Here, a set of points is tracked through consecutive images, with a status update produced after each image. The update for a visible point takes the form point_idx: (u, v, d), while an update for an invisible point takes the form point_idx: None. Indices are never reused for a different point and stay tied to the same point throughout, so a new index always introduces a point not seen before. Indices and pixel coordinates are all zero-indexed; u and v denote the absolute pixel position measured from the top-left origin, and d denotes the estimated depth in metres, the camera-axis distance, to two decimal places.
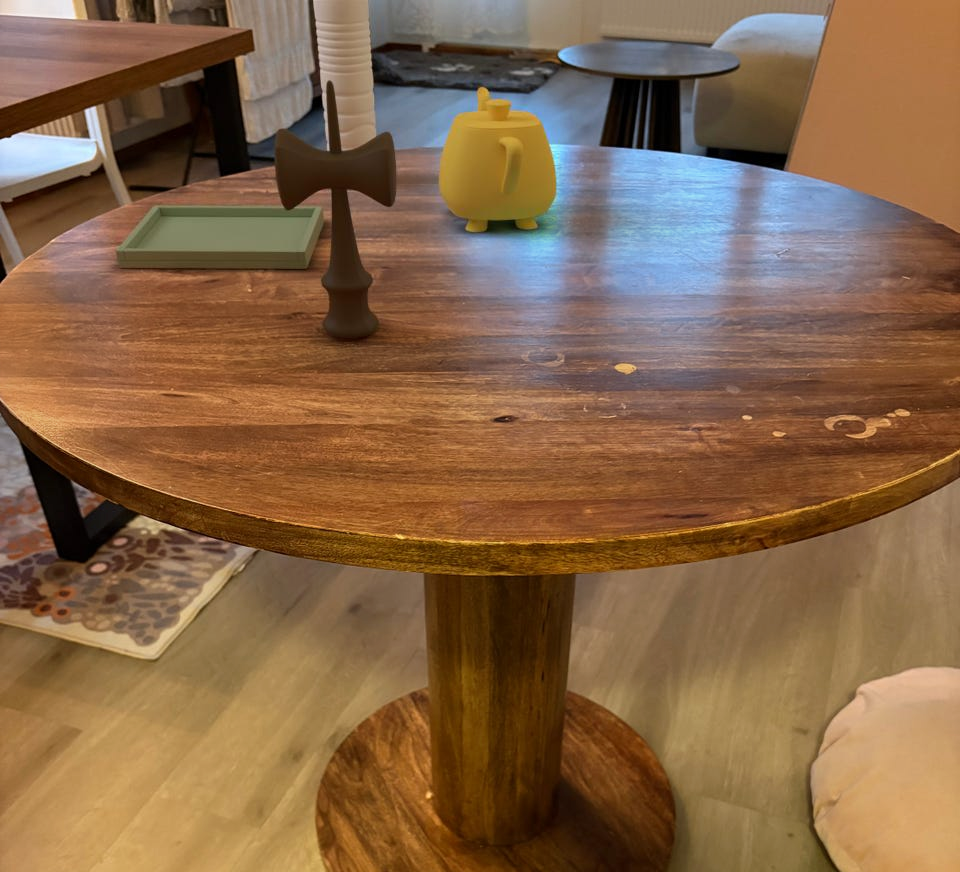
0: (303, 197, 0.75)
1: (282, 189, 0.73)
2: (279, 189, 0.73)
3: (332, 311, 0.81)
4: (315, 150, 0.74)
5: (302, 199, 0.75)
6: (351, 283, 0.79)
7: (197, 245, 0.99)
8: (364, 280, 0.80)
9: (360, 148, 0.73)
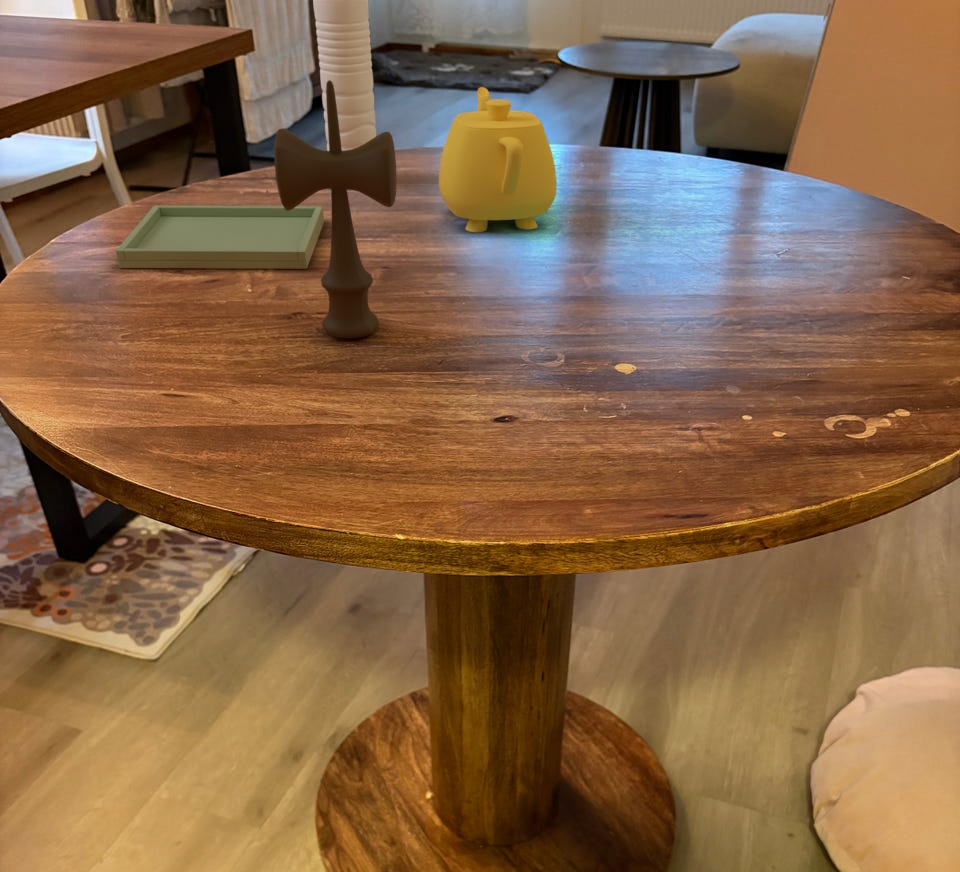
0: (303, 197, 0.75)
1: (282, 189, 0.73)
2: (279, 189, 0.73)
3: (332, 311, 0.81)
4: (315, 150, 0.74)
5: (302, 199, 0.75)
6: (351, 283, 0.79)
7: (197, 245, 0.99)
8: (364, 280, 0.80)
9: (360, 148, 0.73)
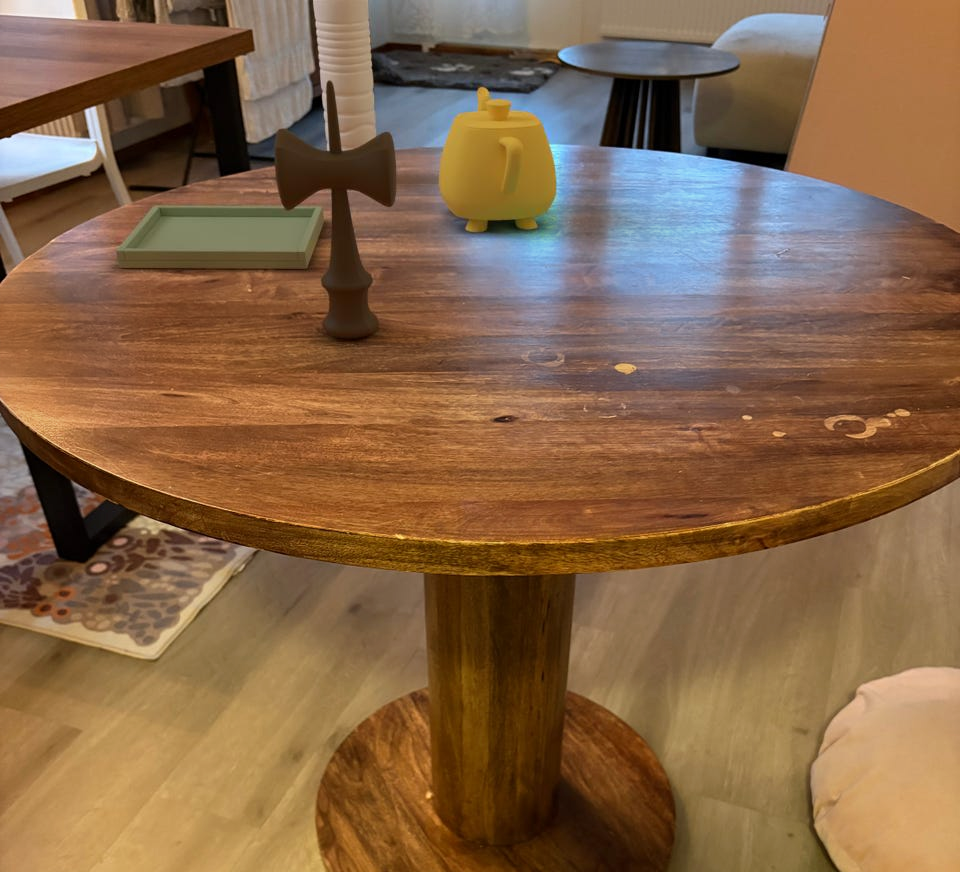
0: (303, 197, 0.75)
1: (282, 189, 0.73)
2: (279, 189, 0.73)
3: (332, 311, 0.81)
4: (315, 150, 0.74)
5: (302, 199, 0.75)
6: (351, 283, 0.79)
7: (197, 245, 0.99)
8: (364, 280, 0.80)
9: (360, 148, 0.73)
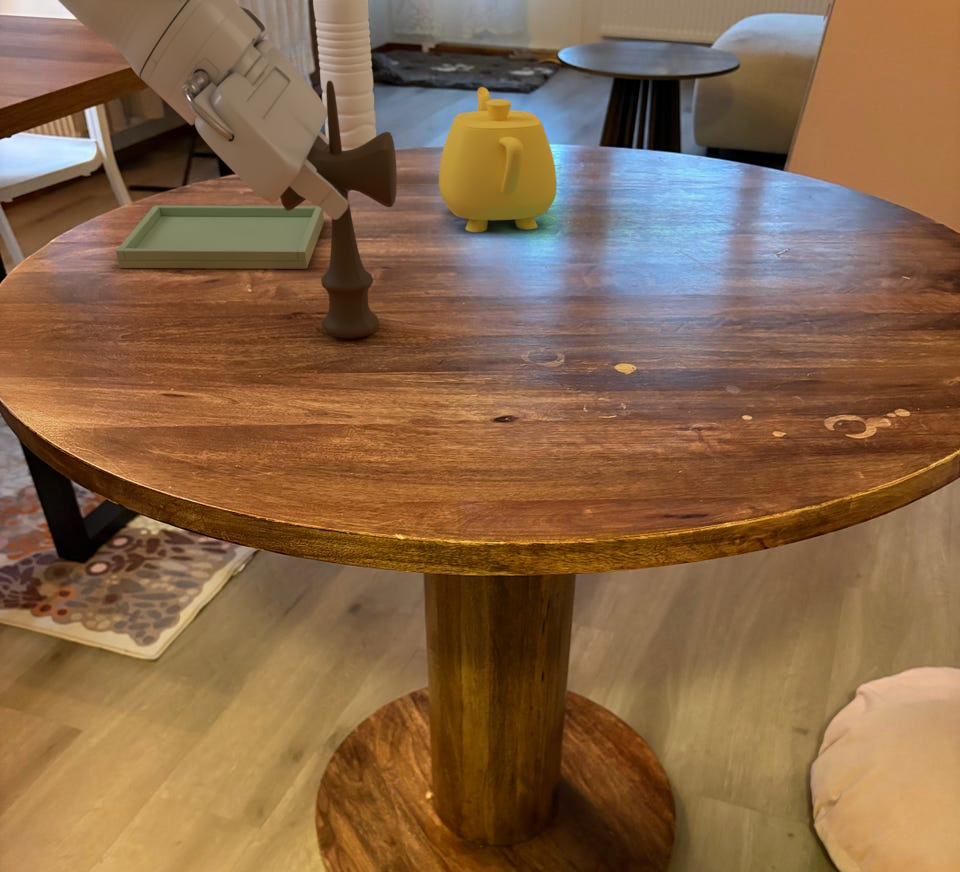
0: None
1: None
2: None
3: (332, 311, 0.81)
4: (315, 150, 0.74)
5: (302, 199, 0.75)
6: (351, 283, 0.79)
7: (197, 245, 0.99)
8: (364, 280, 0.80)
9: (360, 148, 0.73)
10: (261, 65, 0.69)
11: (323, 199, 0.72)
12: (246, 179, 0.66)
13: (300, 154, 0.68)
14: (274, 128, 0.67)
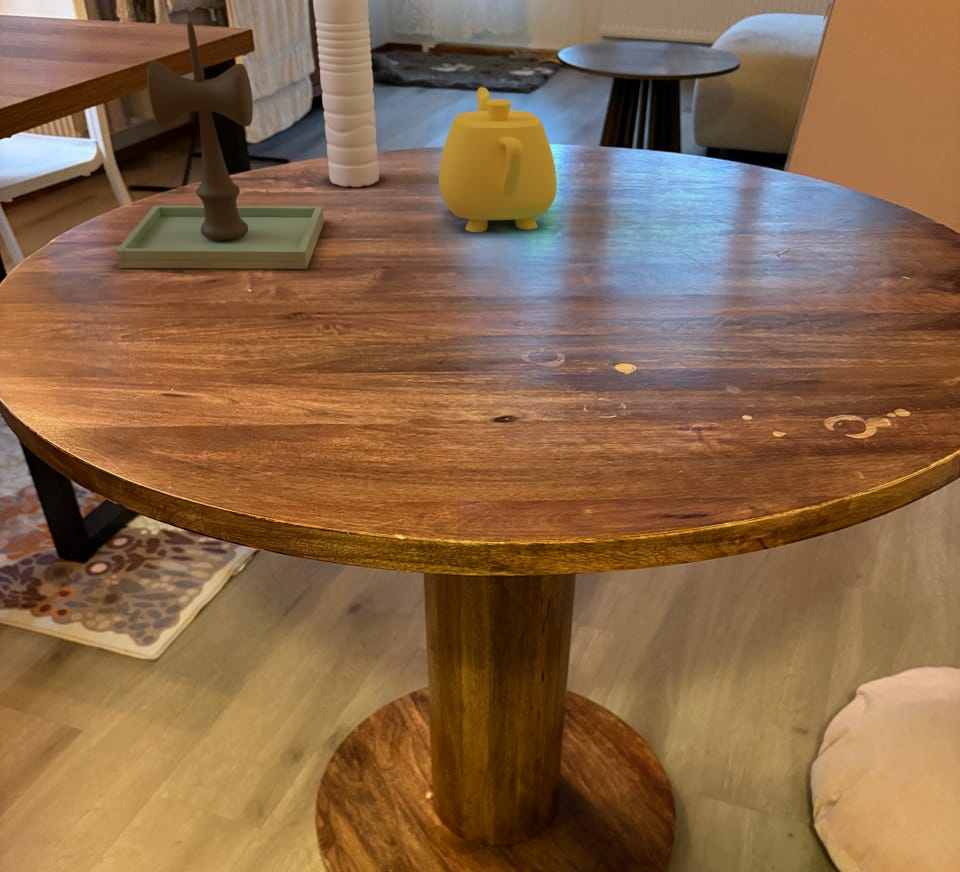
0: (174, 118, 0.92)
1: (155, 109, 0.90)
2: (152, 110, 0.90)
3: (206, 217, 0.99)
4: (182, 78, 0.91)
5: (173, 119, 0.92)
6: (219, 192, 0.96)
7: (197, 245, 0.99)
8: (230, 190, 0.97)
9: (218, 77, 0.91)
10: None
11: None
12: None
13: None
14: None
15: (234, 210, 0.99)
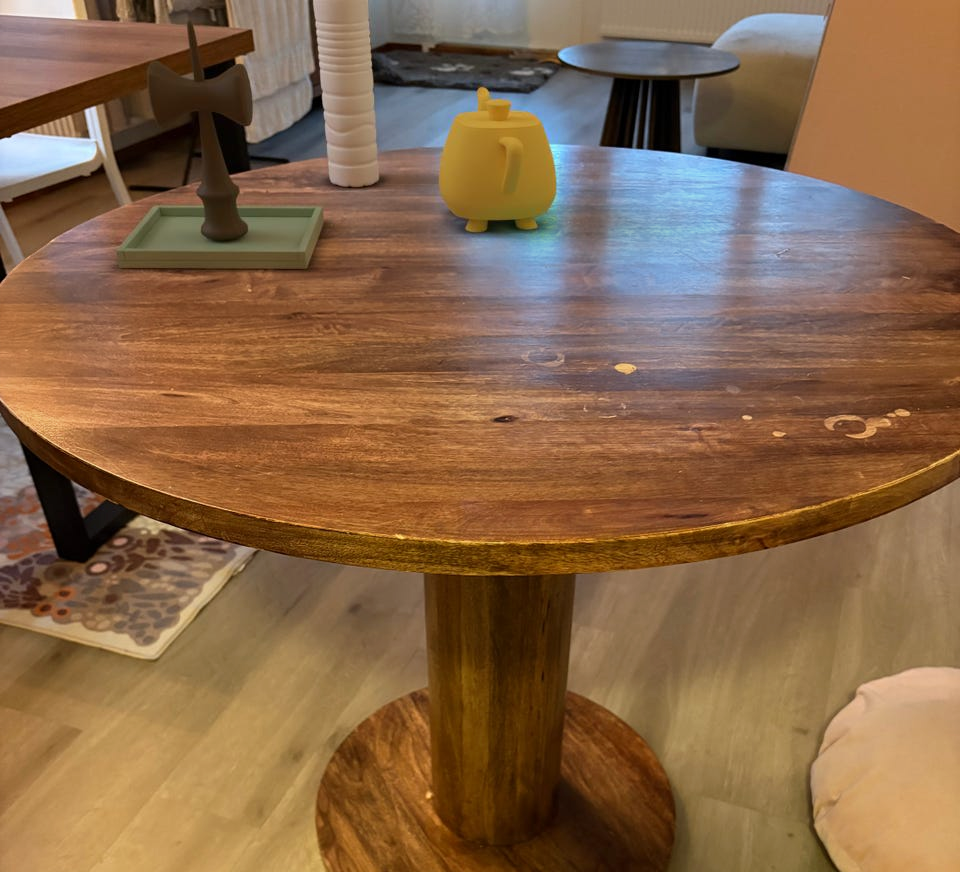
0: (174, 118, 0.92)
1: (155, 109, 0.90)
2: (152, 110, 0.90)
3: (206, 217, 0.99)
4: (182, 78, 0.91)
5: (173, 119, 0.92)
6: (219, 192, 0.96)
7: (197, 245, 0.99)
8: (230, 190, 0.97)
9: (218, 77, 0.91)
10: None
11: None
12: None
13: None
14: None
15: (234, 210, 0.99)
